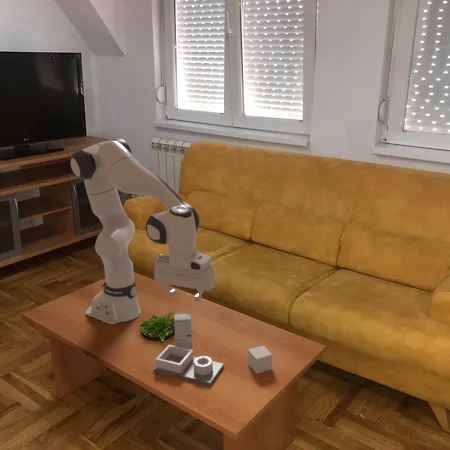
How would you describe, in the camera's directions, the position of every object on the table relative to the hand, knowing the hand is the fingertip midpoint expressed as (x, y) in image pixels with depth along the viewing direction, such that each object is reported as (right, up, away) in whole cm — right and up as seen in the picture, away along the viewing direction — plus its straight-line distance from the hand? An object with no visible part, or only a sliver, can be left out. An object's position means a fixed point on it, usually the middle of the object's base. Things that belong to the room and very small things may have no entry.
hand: (184, 297), depth 164 cm
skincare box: (-2, -21, +23) cm, 31 cm away
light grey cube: (+25, -25, +10) cm, 37 cm away
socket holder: (+1, -25, +9) cm, 27 cm away
